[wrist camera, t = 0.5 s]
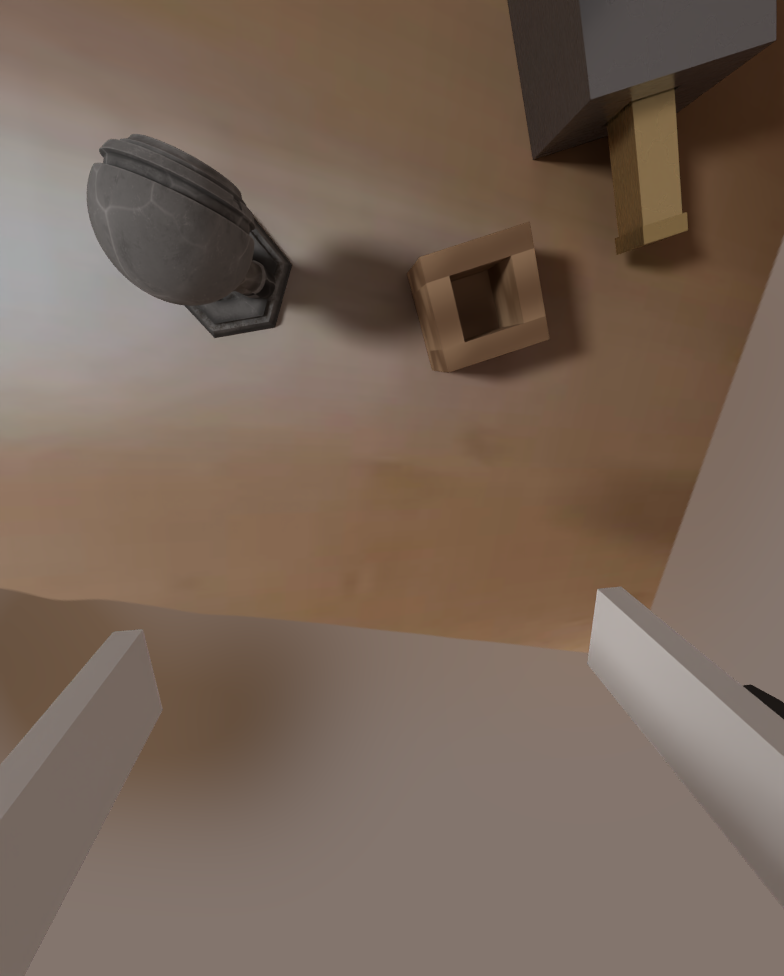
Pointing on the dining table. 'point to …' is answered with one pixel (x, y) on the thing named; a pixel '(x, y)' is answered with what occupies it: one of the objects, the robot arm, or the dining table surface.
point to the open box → (479, 299)
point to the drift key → (646, 171)
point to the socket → (625, 57)
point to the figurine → (185, 235)
